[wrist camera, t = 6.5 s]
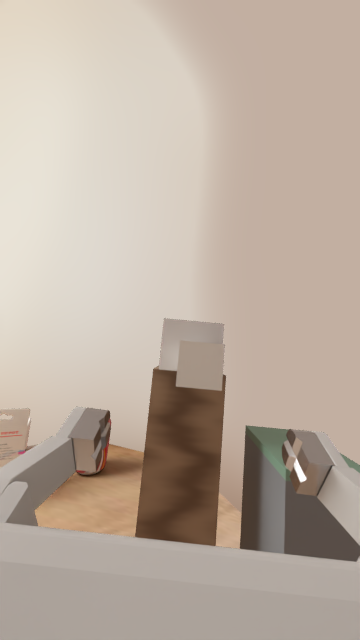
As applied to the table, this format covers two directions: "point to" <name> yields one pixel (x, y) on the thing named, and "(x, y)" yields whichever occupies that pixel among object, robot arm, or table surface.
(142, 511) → the walnut pillar
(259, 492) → the grey tall block
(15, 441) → the ink cartridge box
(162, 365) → the plug
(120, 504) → the table surface
